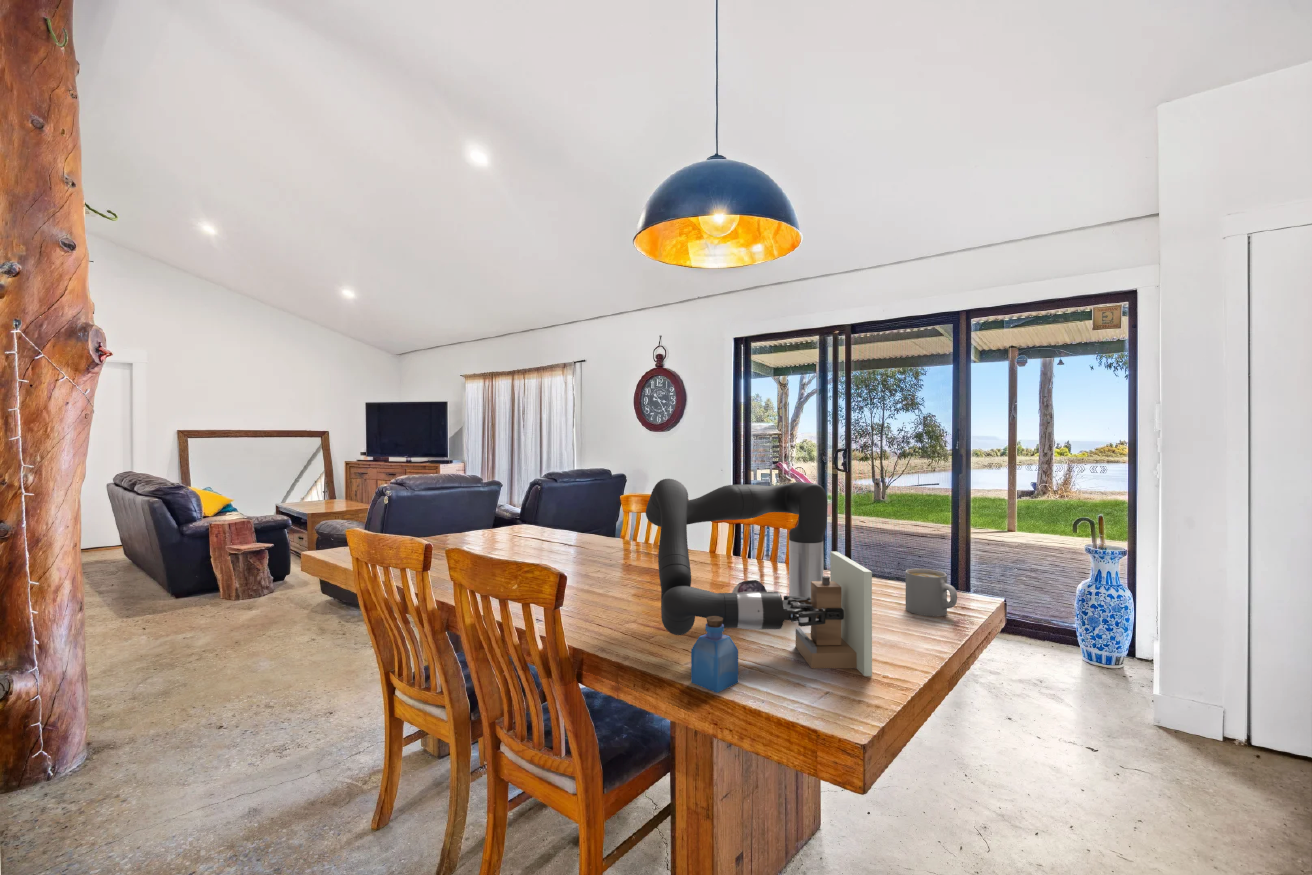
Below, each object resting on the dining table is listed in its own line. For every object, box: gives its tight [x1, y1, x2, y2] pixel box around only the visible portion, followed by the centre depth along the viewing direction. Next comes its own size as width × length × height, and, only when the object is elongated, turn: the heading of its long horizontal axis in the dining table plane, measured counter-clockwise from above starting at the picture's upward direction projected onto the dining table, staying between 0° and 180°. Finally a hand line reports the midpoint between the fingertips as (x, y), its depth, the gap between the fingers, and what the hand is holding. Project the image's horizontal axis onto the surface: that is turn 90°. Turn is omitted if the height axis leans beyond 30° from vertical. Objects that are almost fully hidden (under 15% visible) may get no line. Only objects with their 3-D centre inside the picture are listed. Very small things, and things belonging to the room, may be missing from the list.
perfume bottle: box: [690, 616, 739, 694], centre depth 109 cm, size 6×6×12 cm
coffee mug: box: [905, 568, 958, 617], centre depth 153 cm, size 13×10×10 cm
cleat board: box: [795, 551, 873, 677], centre depth 122 cm, size 20×10×20 cm, turn 1°
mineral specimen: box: [731, 579, 768, 593], centre depth 148 cm, size 10×10×10 cm
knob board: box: [810, 575, 841, 645], centre depth 122 cm, size 4×5×14 cm
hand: (838, 610), depth 122 cm, fingers closed on knob board, 4 cm apart
